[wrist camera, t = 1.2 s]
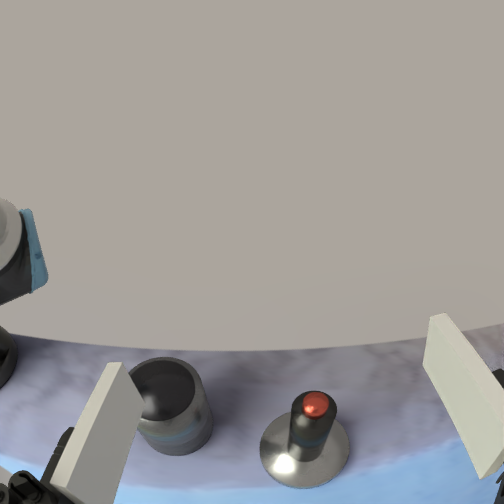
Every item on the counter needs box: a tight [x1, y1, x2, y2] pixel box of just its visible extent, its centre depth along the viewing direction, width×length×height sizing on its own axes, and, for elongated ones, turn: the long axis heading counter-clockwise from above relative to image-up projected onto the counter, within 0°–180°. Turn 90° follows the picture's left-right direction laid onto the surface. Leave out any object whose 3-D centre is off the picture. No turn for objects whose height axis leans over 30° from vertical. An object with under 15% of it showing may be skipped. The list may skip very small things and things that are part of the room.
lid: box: [260, 391, 350, 489], centre depth 28 cm, size 10×10×12 cm
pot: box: [128, 357, 213, 456], centre depth 32 cm, size 9×9×8 cm
